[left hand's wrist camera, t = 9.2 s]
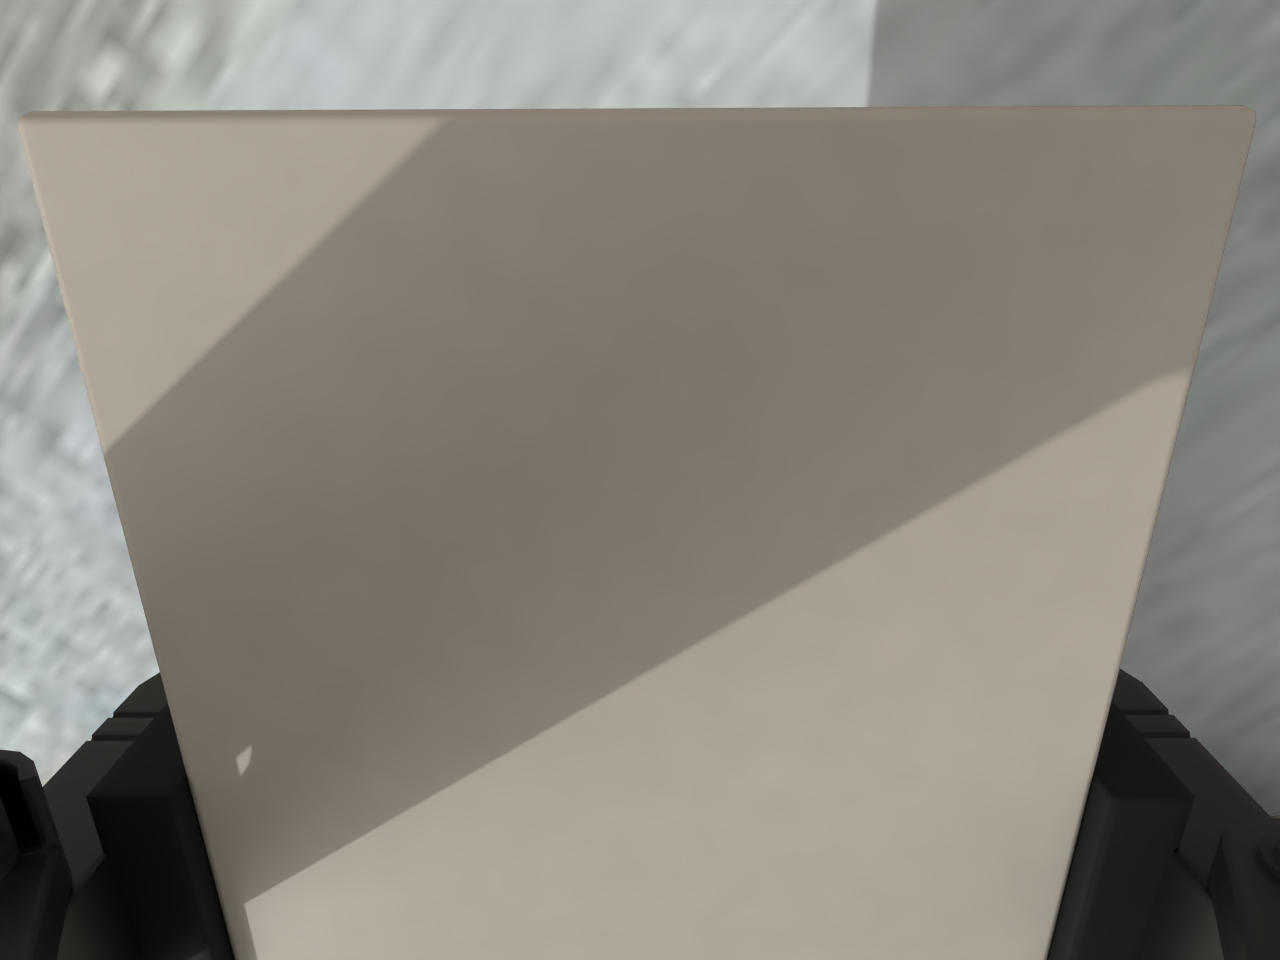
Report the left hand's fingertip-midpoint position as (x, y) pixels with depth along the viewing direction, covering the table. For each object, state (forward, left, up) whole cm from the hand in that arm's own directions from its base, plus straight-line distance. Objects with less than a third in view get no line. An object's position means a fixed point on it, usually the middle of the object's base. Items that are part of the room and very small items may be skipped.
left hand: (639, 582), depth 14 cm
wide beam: (+20, 0, -1) cm, 20 cm away
